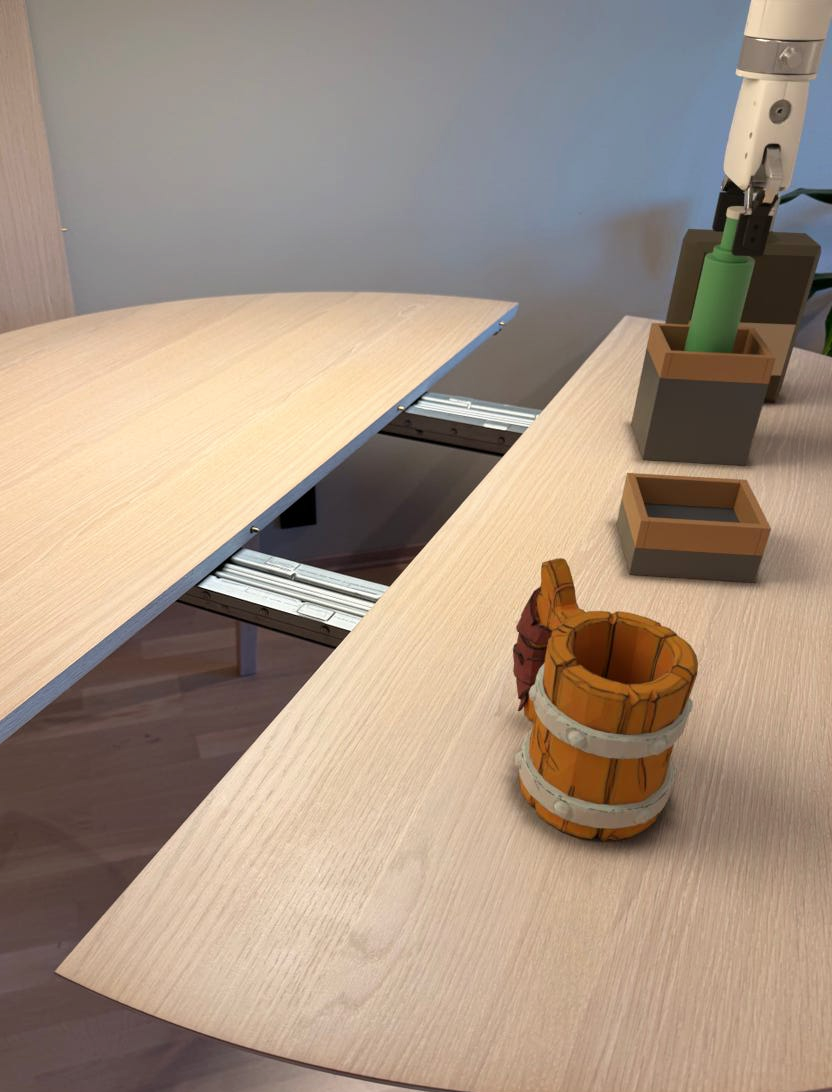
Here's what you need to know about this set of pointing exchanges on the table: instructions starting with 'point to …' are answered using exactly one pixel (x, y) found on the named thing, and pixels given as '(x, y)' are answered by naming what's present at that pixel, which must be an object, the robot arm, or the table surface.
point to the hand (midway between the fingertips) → (736, 242)
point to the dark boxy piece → (756, 289)
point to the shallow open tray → (691, 527)
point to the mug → (598, 711)
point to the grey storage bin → (700, 398)
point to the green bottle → (720, 294)
